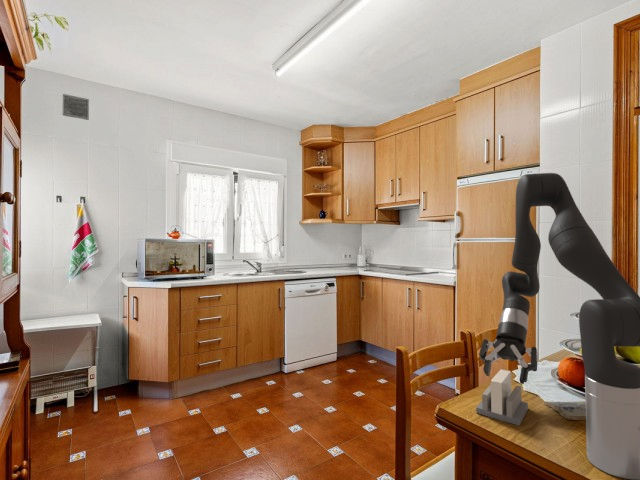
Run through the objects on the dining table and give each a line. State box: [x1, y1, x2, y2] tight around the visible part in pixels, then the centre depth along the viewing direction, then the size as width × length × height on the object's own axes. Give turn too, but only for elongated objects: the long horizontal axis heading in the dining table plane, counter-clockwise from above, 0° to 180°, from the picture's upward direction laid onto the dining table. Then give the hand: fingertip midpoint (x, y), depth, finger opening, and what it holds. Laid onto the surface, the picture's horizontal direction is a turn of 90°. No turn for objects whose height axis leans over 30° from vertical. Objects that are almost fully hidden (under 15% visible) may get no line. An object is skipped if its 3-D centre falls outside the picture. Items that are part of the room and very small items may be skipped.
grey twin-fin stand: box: [475, 383, 529, 427], centre depth 93 cm, size 10×11×6 cm
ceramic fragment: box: [543, 400, 586, 421], centre depth 91 cm, size 11×3×10 cm
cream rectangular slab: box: [490, 368, 512, 415], centre depth 92 cm, size 2×10×8 cm, turn 139°
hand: (503, 378), depth 95 cm, fingers open, 8 cm apart
